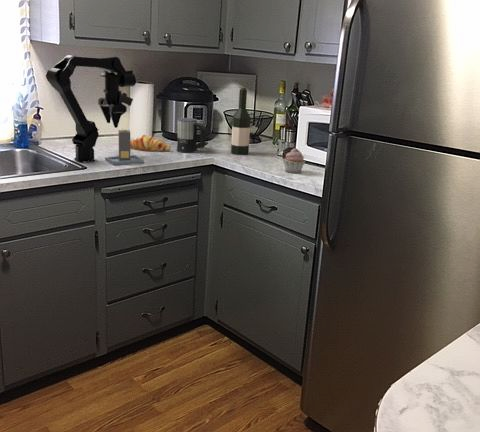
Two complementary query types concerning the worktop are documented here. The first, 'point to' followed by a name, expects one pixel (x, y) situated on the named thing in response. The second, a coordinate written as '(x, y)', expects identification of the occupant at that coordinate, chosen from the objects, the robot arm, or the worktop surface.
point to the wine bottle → (241, 127)
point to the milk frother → (190, 135)
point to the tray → (116, 161)
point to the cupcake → (294, 161)
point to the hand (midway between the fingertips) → (112, 125)
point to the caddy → (124, 145)
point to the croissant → (149, 144)
